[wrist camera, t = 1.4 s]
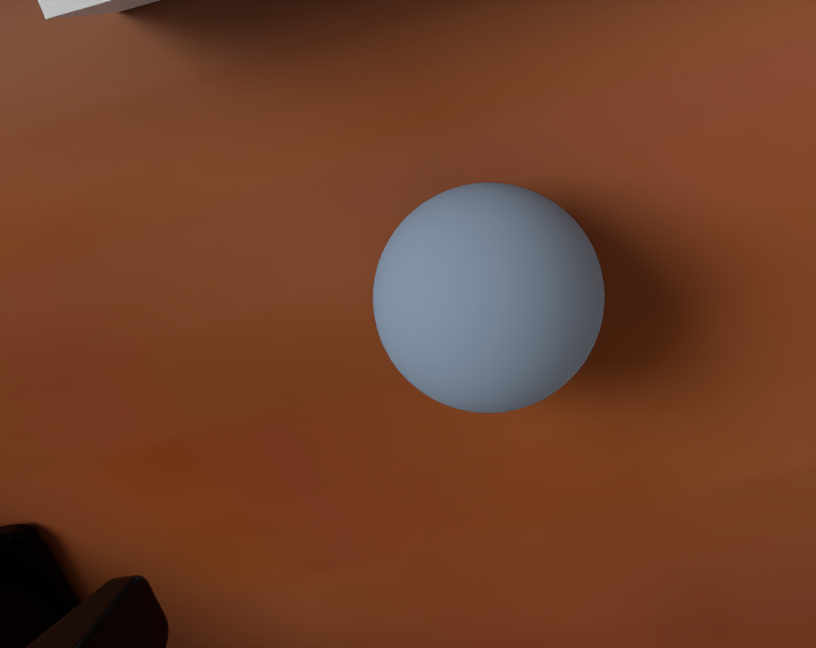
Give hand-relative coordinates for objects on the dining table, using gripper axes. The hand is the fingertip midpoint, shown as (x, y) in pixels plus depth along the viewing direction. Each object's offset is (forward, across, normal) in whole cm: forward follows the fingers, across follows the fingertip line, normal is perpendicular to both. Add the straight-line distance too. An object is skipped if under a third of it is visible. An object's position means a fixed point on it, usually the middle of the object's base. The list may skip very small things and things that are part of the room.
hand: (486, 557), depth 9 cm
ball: (+10, 0, 0) cm, 10 cm away
